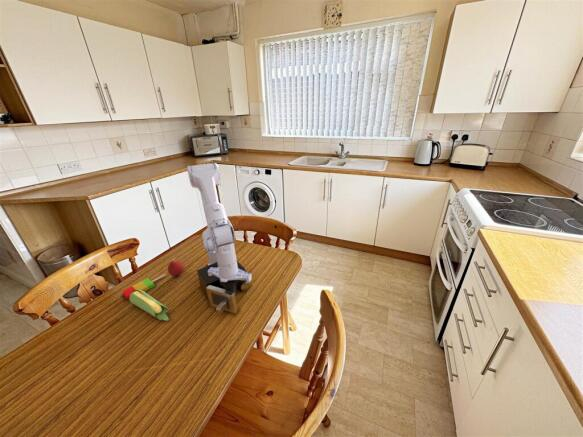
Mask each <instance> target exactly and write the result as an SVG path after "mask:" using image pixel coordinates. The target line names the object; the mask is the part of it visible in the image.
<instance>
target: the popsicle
mask: <svg viewBox="0 0 583 437" xmlns="http://www.w3.org/2000/svg"><path fill="white" fill-rule="evenodd" d="M166 276H167V274H166V273H163V274H162V275H160V276H158V277H156V278H154V279H153V280H150V279H149V278H147V277H145V279H142V280H141V281H139V282H137V283H135V284H133V285H132V286H129V287H127V288H126V289H124V290H123V291H122V295H123V297H124V298H125V299H126V300H127V301H130V300H129V299H130V295H131V293H132V291H133V290H141V291H144V292H146V293H147V292H148V291H150V290H152V289H153V288H155V287H156V285H155V282H157V281H159V280H160V279H162V278H164V277H166Z"/></svg>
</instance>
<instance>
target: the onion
mask: <svg viewBox="0 0 583 437" xmlns="http://www.w3.org/2000/svg"><path fill="white" fill-rule="evenodd" d="M184 270H185V265H184V263H183V262H181V261H180V260H176V258H173V259H172V260H171V262H169V264H168V266H167V273H168V274H169V275H170V276H172V277H179V276H180V275H182V274H183V273H184Z"/></svg>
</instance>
